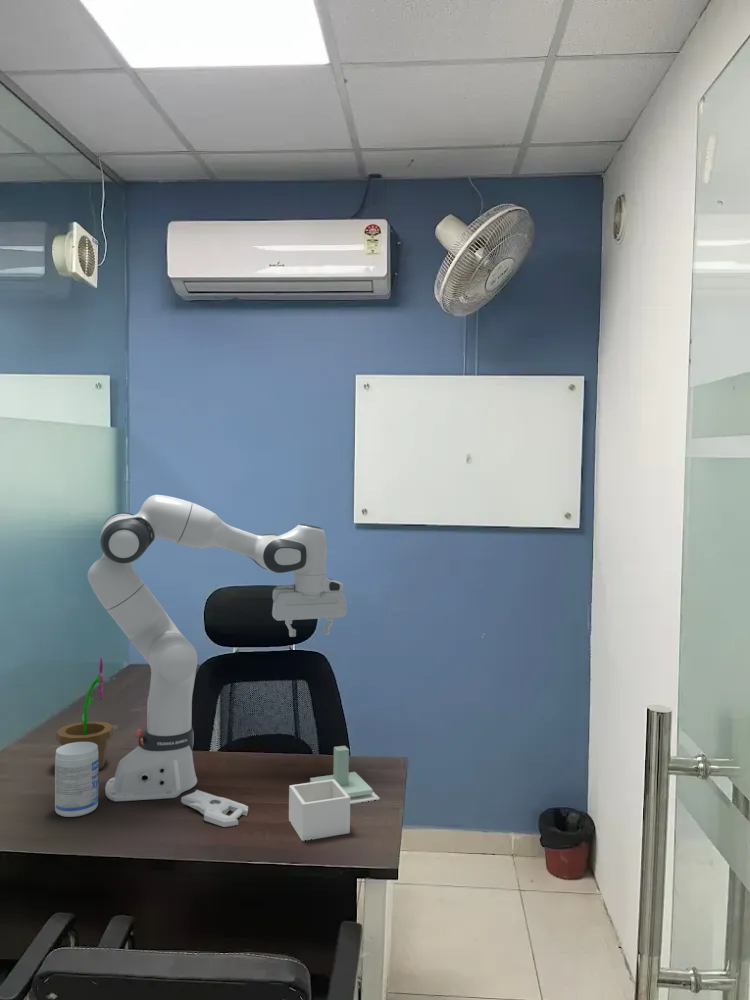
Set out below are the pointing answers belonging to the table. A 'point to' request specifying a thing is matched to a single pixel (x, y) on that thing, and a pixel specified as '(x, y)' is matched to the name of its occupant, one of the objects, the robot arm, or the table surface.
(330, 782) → the tub
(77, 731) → the flowerpot
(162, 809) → the table surface
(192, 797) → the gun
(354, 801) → the mat
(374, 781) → the table surface
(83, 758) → the supplement tub
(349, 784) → the lid
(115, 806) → the table surface
